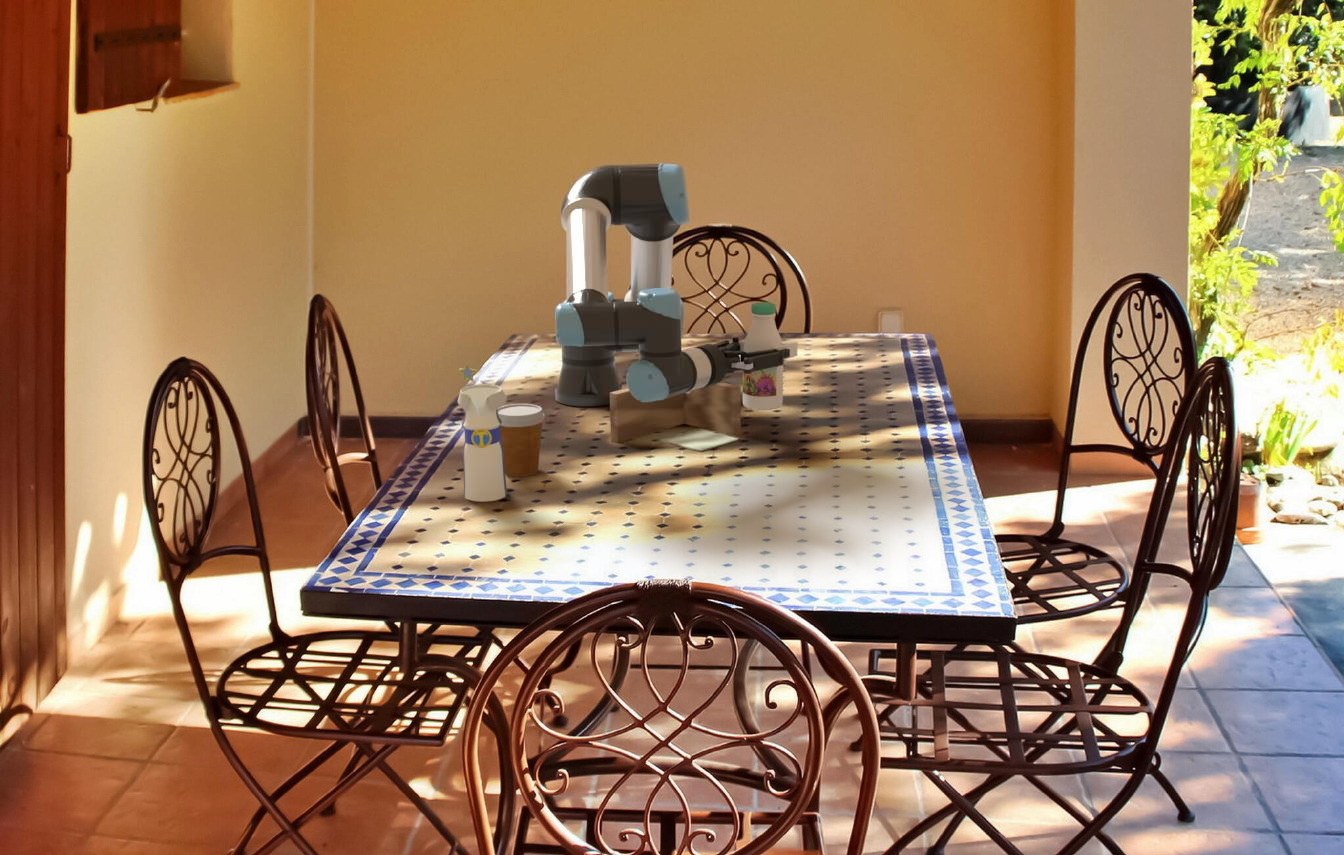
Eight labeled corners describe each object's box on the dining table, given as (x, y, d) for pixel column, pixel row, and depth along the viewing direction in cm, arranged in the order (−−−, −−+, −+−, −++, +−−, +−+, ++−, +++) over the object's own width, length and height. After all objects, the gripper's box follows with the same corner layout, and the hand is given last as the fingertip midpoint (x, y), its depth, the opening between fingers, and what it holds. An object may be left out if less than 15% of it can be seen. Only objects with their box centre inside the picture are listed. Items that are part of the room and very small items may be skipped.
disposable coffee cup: (496, 464, 273) (493, 403, 270) (546, 463, 274) (544, 402, 271) (494, 480, 264) (491, 417, 261) (546, 478, 265) (544, 415, 262)
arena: (610, 441, 288) (609, 392, 285) (683, 419, 302) (682, 373, 299) (677, 459, 275) (676, 408, 272) (749, 436, 290) (749, 388, 287)
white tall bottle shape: (510, 501, 253) (503, 362, 246) (461, 503, 252) (453, 364, 245) (511, 486, 260) (505, 352, 254) (464, 488, 260) (456, 353, 253)
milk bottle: (755, 398, 282) (756, 298, 277) (790, 404, 278) (791, 302, 272) (735, 407, 276) (735, 305, 270) (769, 413, 272) (770, 309, 266)
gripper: (659, 378, 270) (740, 356, 285) (740, 397, 256) (820, 373, 272) (658, 339, 267) (740, 319, 283) (740, 356, 254) (821, 334, 269)
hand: (779, 345), depth 277 cm, fingers closed on milk bottle, 7 cm apart
